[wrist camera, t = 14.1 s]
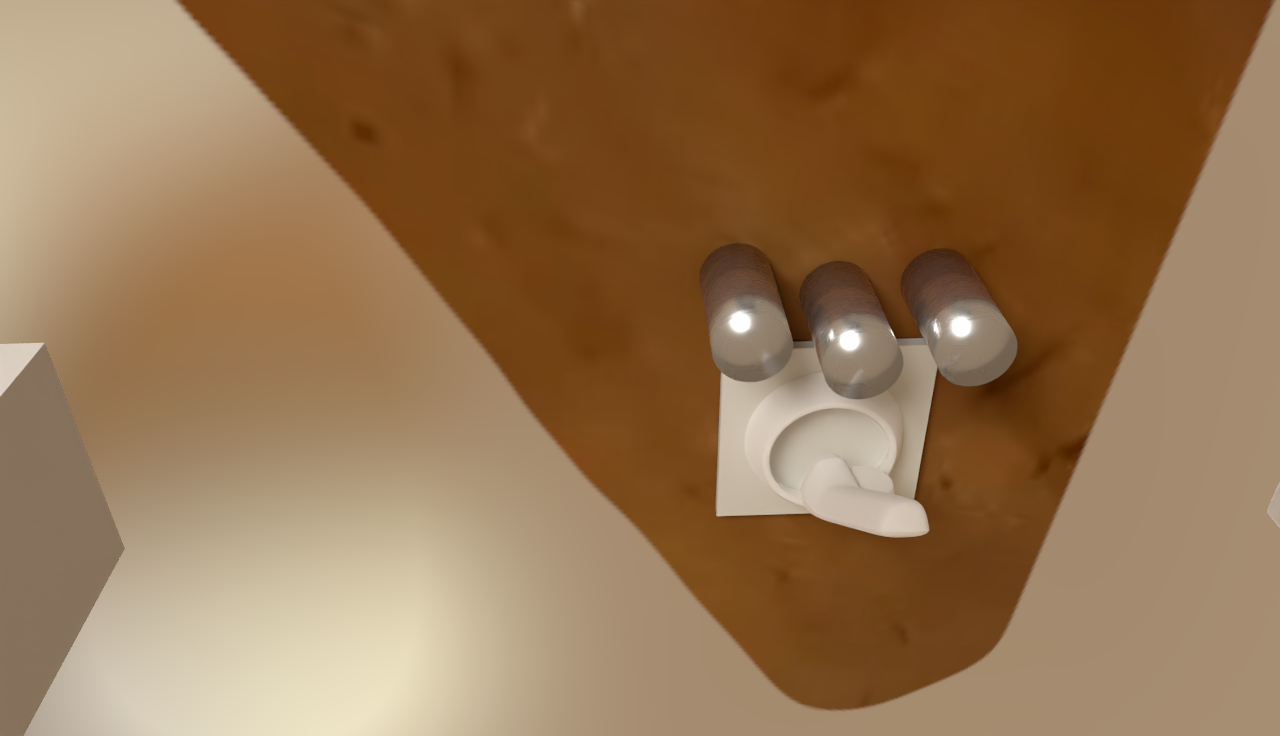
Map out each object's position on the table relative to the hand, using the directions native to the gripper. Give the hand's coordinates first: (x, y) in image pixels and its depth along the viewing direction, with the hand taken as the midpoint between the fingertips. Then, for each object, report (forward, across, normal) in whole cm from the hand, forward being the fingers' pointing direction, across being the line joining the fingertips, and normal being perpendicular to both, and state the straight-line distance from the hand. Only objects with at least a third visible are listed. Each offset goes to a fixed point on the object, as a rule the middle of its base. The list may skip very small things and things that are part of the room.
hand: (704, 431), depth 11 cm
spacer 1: (+32, +4, -16) cm, 36 cm away
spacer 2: (+32, +9, -16) cm, 37 cm away
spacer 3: (+32, +13, -16) cm, 38 cm away
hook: (+31, +9, -24) cm, 41 cm away
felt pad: (+32, +9, -24) cm, 41 cm away
